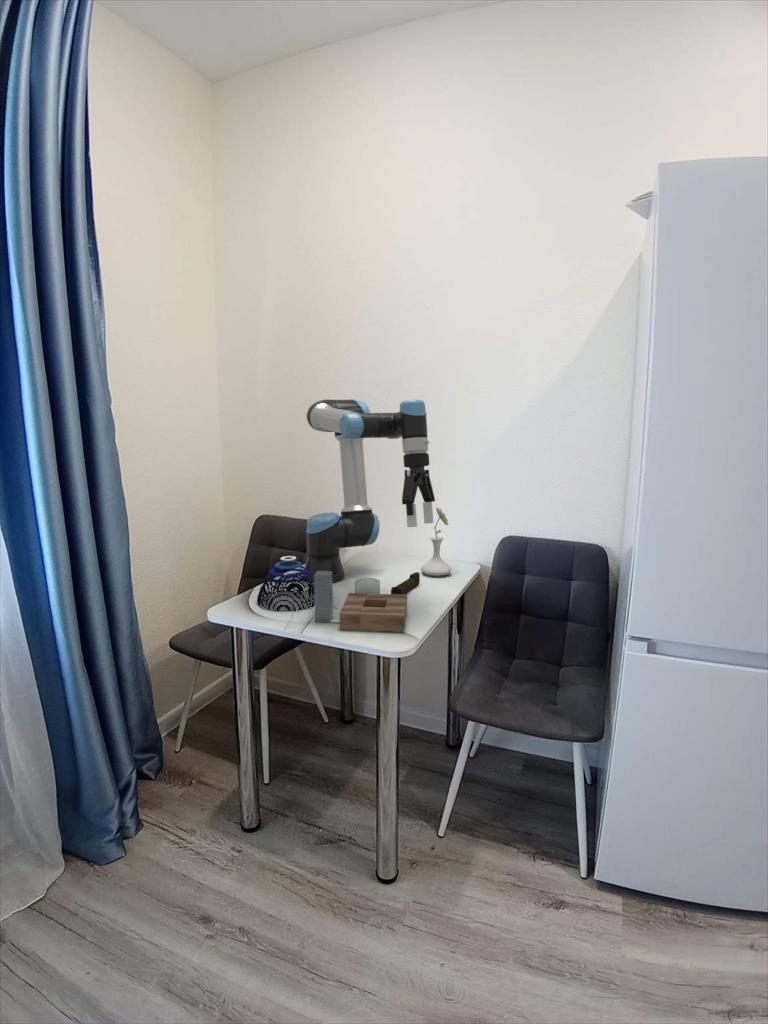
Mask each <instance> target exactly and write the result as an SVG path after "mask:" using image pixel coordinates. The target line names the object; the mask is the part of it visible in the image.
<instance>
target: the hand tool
mask: <svg viewBox="0 0 768 1024" xmlns="http://www.w3.org/2000/svg"><path fill="white" fill-rule="evenodd" d="M420 580H421V578H420V571H416V572H413V573H410V575H409V578H407V579H406V580H404V581H402V582H401V583H399V584H398V585H395V586H391V589H390V594H405V593H407V592H409V591H410V590H412V589H413V588H417V587H418V586H419V584H420V583H421V582H420Z"/></svg>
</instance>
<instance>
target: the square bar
mask: <svg viewBox="0 0 768 1024" xmlns="http://www.w3.org/2000/svg"><path fill="white" fill-rule="evenodd" d="M313 587H314V596H313V597H314V604H315V607H314V622H315V623H317V622H318V623H331V622H330V621H332V620H331V619H333V617H334V611H333V609H334V608H333V607H334V606H333V605H334V604H333V603H334V600H333V598H334V597H333V595H334V593H333V592H334V591H333V583H332V571H317V572H316V573H315V574H314V586H313Z"/></svg>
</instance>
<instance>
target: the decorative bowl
mask: <svg viewBox="0 0 768 1024" xmlns="http://www.w3.org/2000/svg"><path fill="white" fill-rule="evenodd" d="M296 559H297V557H296V556H295V555H294V556H293V555H286V556H285V555H284V556H282V557H280V559H279V560H281V561H279V562H277V563H275V564H274V566H275V567H273V568H271V569H270V570H269V573H268V574H267V576H266V580H265V581H264V582H263V583H262V585H261V586H260V587H259V591H258V594H257V598H256V603H257V602H258V604H257V606H258V605H259V606H258V607H260V605H261V606H262V607H264V608H266V609H269V610H275V611H274V612H276V611H281V609H282V608H284V609H285V610H286V611H294V612H299V610H301V611H303V609H305V610H308V609H307V608H309V609H311V608H310V607H312V608H315V607H314V606H315V604H314V580H313V579H311V582H310V581H309V580H308V579H309V578H310V577H311V574H310V573H309V572H308V570H307V569H306V568H305V566H303V564H302V562H300V561H297V560H296ZM285 563H295V564H285ZM280 564H281V565H280ZM282 564H284V565H282ZM281 572H293V573H287V574H286V573H281ZM305 573H307V574H308V575H307V576H305V577H304V576H303V574H305ZM271 576H273V577H277V578H278V577H279V578H278V579H276V578H272V577H271ZM306 580H307V581H308V582H307V581H306ZM273 583H274V584H273ZM304 589H305V590H304ZM294 591H297V592H294ZM301 591H302V592H301ZM276 592H277V593H276ZM285 592H286V593H285ZM307 592H308V593H307ZM304 593H307V597H306V595H305V594H304ZM311 593H312V594H311ZM269 594H271V595H269ZM265 595H266V596H265ZM292 595H293V596H292ZM264 596H265V597H264ZM272 596H273V597H272ZM263 597H264V598H263ZM279 597H280V598H282V597H285V598H286V597H287V598H289V599H292V601H293V602H294V604H293V602H291V600H290V601H289V599H280V600H279V599H278V598H279ZM294 597H295V598H297V599H298V600H299V601H297V600H296V599H295V598H294ZM261 598H262V599H261ZM276 599H278V601H277V600H276ZM274 600H276V601H275V602H274ZM281 602H283V603H284V602H287V603H288V604H289V605H288V604H287V603H286V604H283V603H282V604H281ZM299 602H300V604H301V605H300V604H299ZM279 603H280V604H279ZM295 604H296V606H297V607H296V606H295ZM304 604H305V605H304ZM276 605H277V606H276ZM290 605H291V606H290ZM291 607H292V609H291ZM271 608H272V609H271ZM297 608H298V609H297ZM269 610H268V611H269ZM296 610H298V611H296Z"/></svg>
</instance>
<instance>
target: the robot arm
mask: <svg viewBox="0 0 768 1024" xmlns="http://www.w3.org/2000/svg"><path fill="white" fill-rule="evenodd" d="M306 421H307V423H308V425H309V426H310V428H311V429H313V430H315V431H318V432H323V433H324V432H325V433H334V438H335V439H336V440H337V441H338V443H339V452H340V465H341V466H340V467H341V479H342V489H343V491H342V492H343V503H344V505H343V508H342V509H341V511H340V515H339V513H337V512H334V511H333V512H321V513H318V514H314V515H312V516H310V517H308V519H307V521H306V552H307V553H306V554H307V555H306V557H307V558H306V561H305V564H304V567H305V568H306V569H307V570H308V572H309V573H310V574H311V577H310V578H309V579H308V580H309V581H310V582H311V579H313V580H314V574H315V573H316V572H317V571H332V584H333V583H338V582H341V581H343V580H344V579H345V570H344V566H343V563H342V560H341V557H340V550H341V549H346V548H353V547H365V546H370V545H373V544H374V543H375V542H376V541H377V539H378V537H379V534H380V520H379V519H378V518H379V517H378V515H377V514H376V513H374V512H373V508H372V507H370V505H369V504H368V492H367V480H366V466H365V457H364V454H365V453H364V443H363V441H364V439H380V438H381V439H384V438H385V439H390V440H392V439H399V438H401V443H402V444H401V445H402V453H403V454H404V455H403V457H402V458H403V466H404V468H409V469H404V480H403V489H402V496H401V502H402V505H405V511H406V512H405V514H406V525H407V528H417V527H418V521H417V520H418V518H417V507H416V506H417V504H416V503H415V500H416V496H417V492H418V490H419V492H420V493H421V496H422V500H423V502H422V508H423V509H422V511H423V521H424V523H423V524H434V512H433V502H434V503H435V501H436V498H435V494H434V490H433V489H434V488H433V486H432V485H433V484H432V482H431V477H430V470H429V469H425V467H428V466H429V465H430V454H429V453H428V452H429V444H430V440H429V439H428V423H427V421H428V420H427V412H426V403H425V402H424V400H422V399H408V400H404V401H401V402H400V404H399V411H398V412H371V411H370V409H369V406H368V405H367V404H366V402H364V401H362V400H361V399H360V400H358V399H321V400H318V401H316V402H314V403H312V404H311V405H310V406H309V408H308V410H307V412H306ZM307 575H308V574H307V573H305V574H303V575H302V576H304V577H305V576H307ZM306 581H307V580H306ZM307 582H308V581H307Z"/></svg>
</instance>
